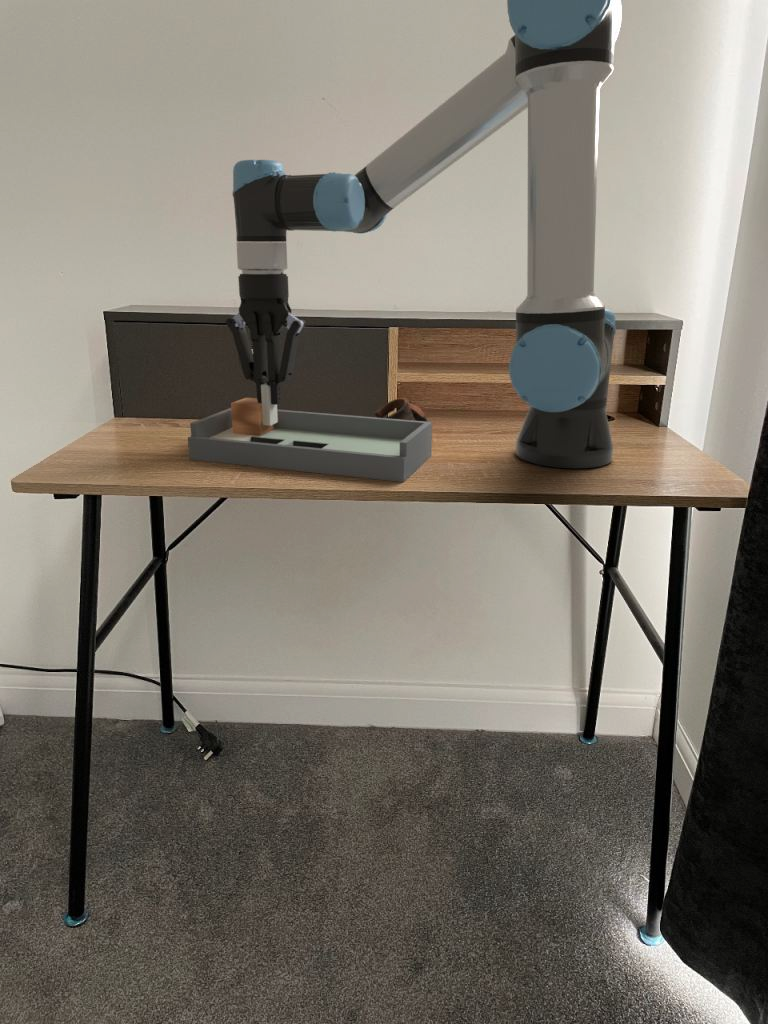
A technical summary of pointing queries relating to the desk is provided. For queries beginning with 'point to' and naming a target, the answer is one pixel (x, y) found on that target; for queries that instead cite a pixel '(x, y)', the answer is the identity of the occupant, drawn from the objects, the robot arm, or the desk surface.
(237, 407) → the block
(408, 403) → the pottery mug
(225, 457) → the box
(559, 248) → the robot arm
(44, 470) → the desk surface
